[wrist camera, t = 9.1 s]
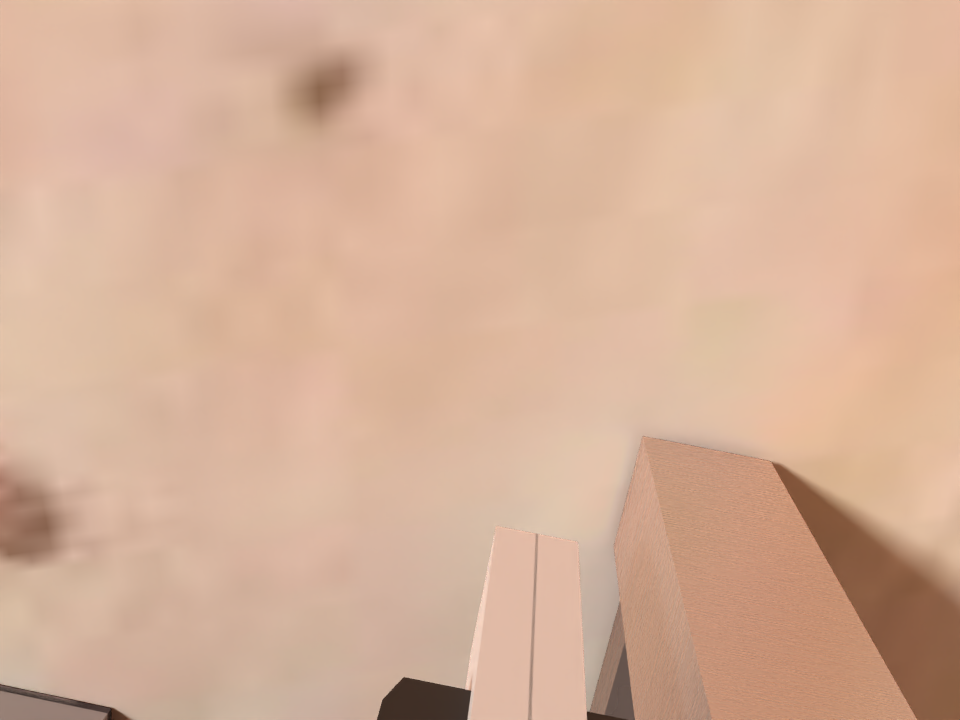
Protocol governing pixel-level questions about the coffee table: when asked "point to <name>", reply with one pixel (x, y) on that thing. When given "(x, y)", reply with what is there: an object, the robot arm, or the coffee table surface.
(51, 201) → the coffee table surface
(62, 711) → the tray
